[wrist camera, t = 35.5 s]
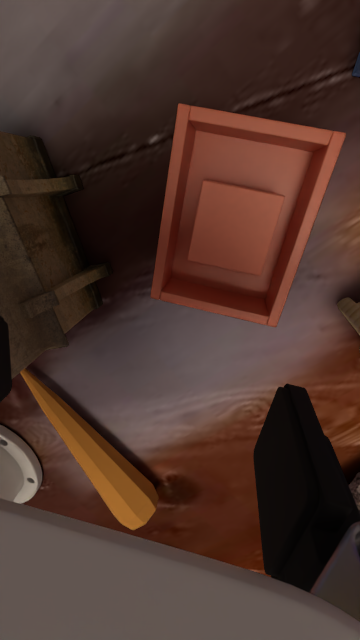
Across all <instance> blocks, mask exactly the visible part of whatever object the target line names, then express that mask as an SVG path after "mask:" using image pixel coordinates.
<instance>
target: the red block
mask: <svg viewBox="0 0 360 640" xmlns="http://www.w3.org/2000/svg"><path fill="white" fill-rule="evenodd" d="M284 200H285V196H284V195H280V194H275V193H270V192H265V191H260V190H255V189H250V188H245V187H240V186H235V185H230V184H225V183H220V182H215V181H210V180H203V181H202V185H201V190H200V195H199V200H198V206H197V211H196V216H195V221H194V227H193V232H192V237H191V242H190V247H189V253H188V258H187V259H188V260H189V261H193V262H197V263H202V264H206V265H211V266H215V267H220V268H224V269H229V270H233V271H238V272H242V273H247V274H251V275H255V276H261V274H262V271H263V268H264V265H265V261H266V258H267V255H268V252H269V248H270V245H271V242H272V239H273V236H274V232H275V229H276V226H277V223H278V220H279V216H280V213H281V210H282V207H283V203H284Z"/></svg>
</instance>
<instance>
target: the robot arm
mask: <svg viewBox="0 0 360 640" xmlns="http://www.w3.org/2000/svg"><path fill="white" fill-rule="evenodd" d="M11 388H12V375H11V360H10V345H9V329H8V324H7V322H6V321H5V320H4V318H3V317H2V316H0V402H1V401H2V400H3V399H4V398H5V397H6V396H7V395H8V394H9V393H10V391H11ZM254 467H255V478H256V488H257V498H258V509H259V519H260V530H261V540H262V550H263V561H264V569H265V572H266V574H268V575H271V577H268V576H265V575H262V574H260V573H257V572H254V571H250V570H247V569H244V568H241V567H237V566H234V565H231V564H227V563H224V562H221V561H218V560H214V559H211V558H208V557H205V556H201V555H198V554H195V553H192V552H188V551H185V550H181V549H178V548H174V547H171V546H167V545H164V544H160V543H157V542H153V541H150V540H146V539H143V538H139V537H136V536H132V535H129V534H125V533H122V532H118V531H115V530H111V529H108V528H104V527H101V526H97V525H94V524H90V523H87V522H83V521H80V520H76V519H73V518H69V517H66V516H62V515H58V514H55V513H51V512H48V511H44V510H41V509H37V508H34V507H30V506H26V505H23V504H20V503H24V502H26V501H28V500H30V499H31V498H32V497H33V496H34V495H35V493H36V492H37V490H38V489H39V487H40V485H41V482H42V470H41V466H40V463H39V461H38V459H37V457H36V455H35V454H34V452H33V451H32V449H31V448H30V447H29V446H28V445H27V444H26V443H25V442H24V441H23V440H22V439H21V438H20V437H19V436H17V435H16V434H15V433H14V432H12V431H11V430H9V429H8V428H6V427H4V426H2V425H0V640H360V512H359V510H358V507H357V505H356V503H355V500H354V498H353V495H352V493H351V490H350V488H349V486H348V483H347V481H346V478H345V476H344V473H343V471H342V469H341V466H340V464H339V461H338V459H337V457H336V454H335V452H334V449H333V447H332V444H331V442H330V440H329V439H328V437H326V436H325V435H324V433H323V431H322V428H321V426H320V423H319V421H318V418H317V416H316V413H315V411H314V408H313V406H312V403H311V401H310V398H309V396H308V393H307V391H306V389H305V388H302V387H298V386H294V385H290V384H286V385H285V386H284V388H283V387H279V388H278V389H277V391H276V394H275V397H274V399H273V402H272V404H271V407H270V409H269V412H268V415H267V417H266V420H265V422H264V425H263V427H262V430H261V433H260V435H259V438H258V440H257V443H256V445H255V449H254Z"/></svg>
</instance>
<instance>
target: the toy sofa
mask: <svg viewBox="0 0 360 640" xmlns="http://www.w3.org/2000/svg"><path fill="white" fill-rule="evenodd" d="M337 306H338V308H339V310H340V311H341V313H342V314H343V315H344V316H345V317H346V319H347V320H348V321H349V323H350V324H351V325H352V326H353V328H354V329H355V330H356V331H357V333H358V334H359V335H360V302H359V303H355V302H354V301H353V300H352V299H351V298H349V297H348V298H344V299H342V300H341V301H339V302H338V303H337Z"/></svg>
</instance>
